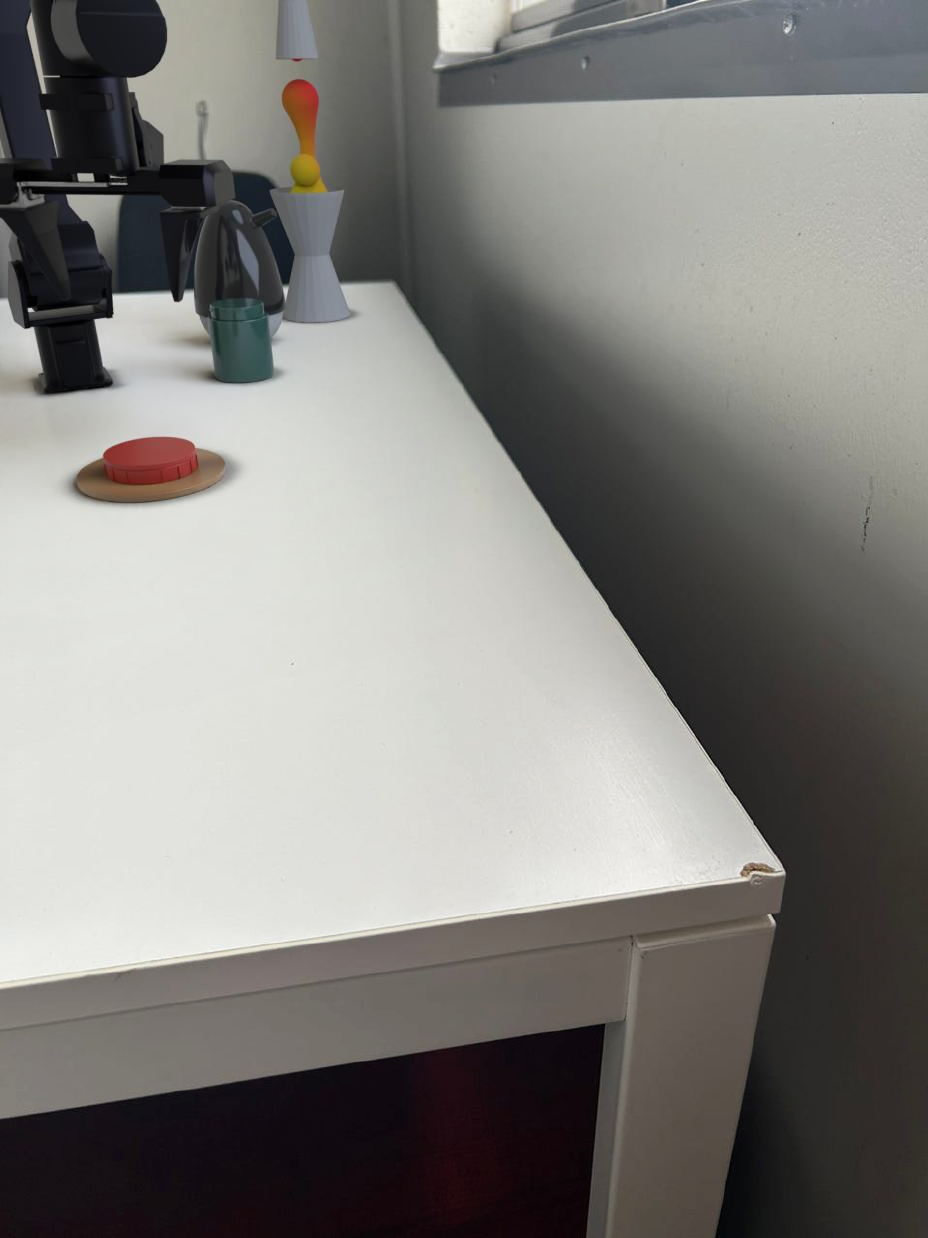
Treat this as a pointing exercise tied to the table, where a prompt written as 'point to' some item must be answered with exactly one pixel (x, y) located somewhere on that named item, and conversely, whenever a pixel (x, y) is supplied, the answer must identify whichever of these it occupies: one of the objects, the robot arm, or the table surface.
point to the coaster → (104, 488)
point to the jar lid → (150, 460)
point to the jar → (240, 340)
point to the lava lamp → (307, 186)
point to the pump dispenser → (237, 262)
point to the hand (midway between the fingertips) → (122, 300)
